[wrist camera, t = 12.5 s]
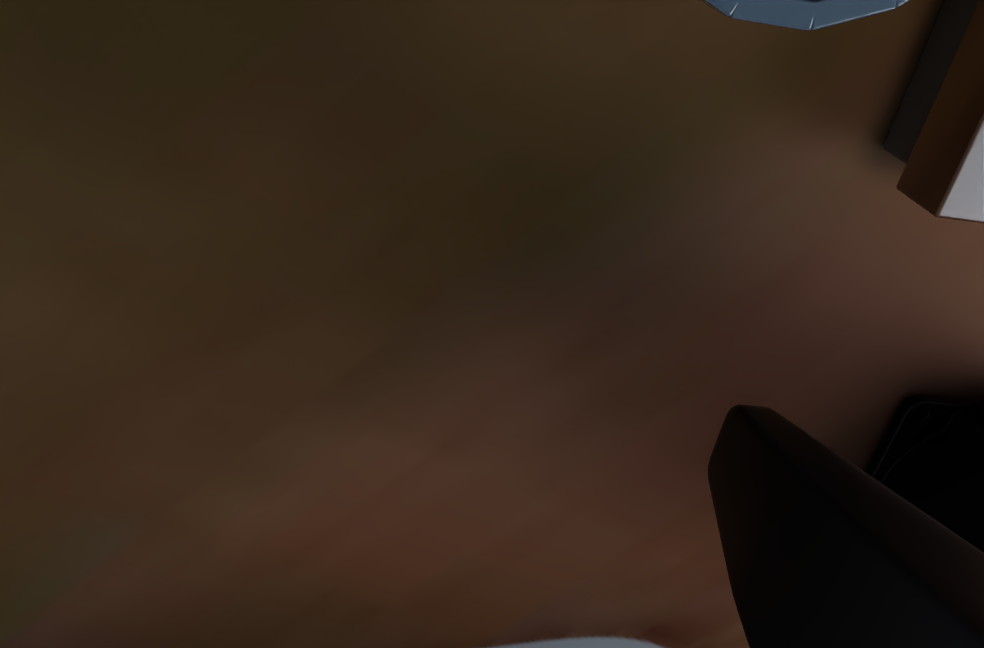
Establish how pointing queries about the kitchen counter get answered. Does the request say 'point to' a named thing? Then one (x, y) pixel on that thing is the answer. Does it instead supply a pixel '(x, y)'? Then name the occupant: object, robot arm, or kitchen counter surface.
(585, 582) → the kitchen counter surface
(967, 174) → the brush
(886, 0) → the cup
